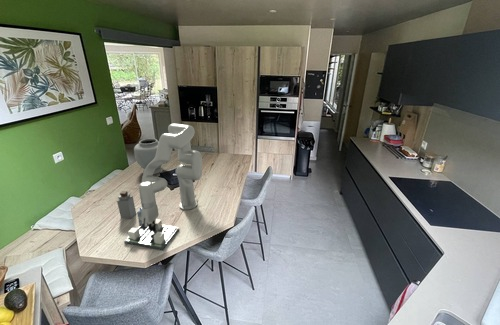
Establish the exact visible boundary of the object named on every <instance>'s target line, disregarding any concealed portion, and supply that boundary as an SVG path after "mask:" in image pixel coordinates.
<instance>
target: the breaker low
mask: <svg viewBox="0 0 500 325" xmlns="http://www.w3.org/2000/svg"><path fill="white" fill-rule="evenodd" d="M127 234H128V237H129V239H133V240H135V239H136V238H137V237H138V236H139V235H140V232H139V228H138V227H131V228H130V229H129V230H128V232H127Z"/></svg>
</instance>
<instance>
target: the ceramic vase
mask: <svg viewBox="0 0 500 325" xmlns="http://www.w3.org/2000/svg"><path fill="white" fill-rule="evenodd" d="M158 143H159V139H156V138H144V139H141V140H140V141H138V143H137V144H136V145H135V146H134V147H133V155H134V159H135V161H136V163H137V164H138V165H139V166H140V167H141V168H143V171H142V172H143V173H144V170H145V168H146V167H147V165H148V164H149V163H150V162H151V161H152V160H153V159H154V158H155V155H156V151H157V147H158ZM162 166H163V164H162V165H160V166H158V167H157V168H156V169H155V171H154V173H153V175H156V174H160V173H162V172H164V171H163V170H164V168H163V167H162ZM161 171H162V172H161ZM159 172H160V173H159Z"/></svg>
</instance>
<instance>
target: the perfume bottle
mask: <svg viewBox="0 0 500 325" xmlns="http://www.w3.org/2000/svg"><path fill="white" fill-rule="evenodd" d="M116 203H117V207H118V211H119V216H120V219H123V220H132V219H133V218H134V217H135V215H136V214H137V211H136V210H137V209H136V206H135V201H134V196H133V195H131V193H128V190H122V191H121V192H119V195H118V197H117V200H116Z"/></svg>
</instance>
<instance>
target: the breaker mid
mask: <svg viewBox="0 0 500 325" xmlns="http://www.w3.org/2000/svg"><path fill="white" fill-rule="evenodd" d="M162 225H163V222H162V219H157V218H156V224H155V227H156V230H157V231H158V230H159V229H160V228H161V227H162Z"/></svg>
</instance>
